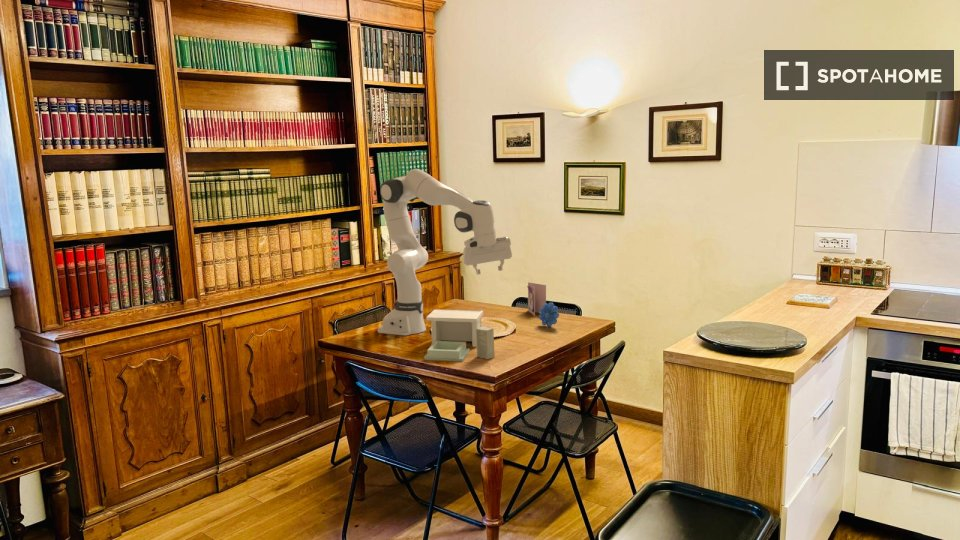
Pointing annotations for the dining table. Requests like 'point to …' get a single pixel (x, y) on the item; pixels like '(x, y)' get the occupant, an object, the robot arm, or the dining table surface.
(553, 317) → the grapes
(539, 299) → the greeting card
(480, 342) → the skincare box
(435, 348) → the green drawer
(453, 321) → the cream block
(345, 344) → the dining table surface
